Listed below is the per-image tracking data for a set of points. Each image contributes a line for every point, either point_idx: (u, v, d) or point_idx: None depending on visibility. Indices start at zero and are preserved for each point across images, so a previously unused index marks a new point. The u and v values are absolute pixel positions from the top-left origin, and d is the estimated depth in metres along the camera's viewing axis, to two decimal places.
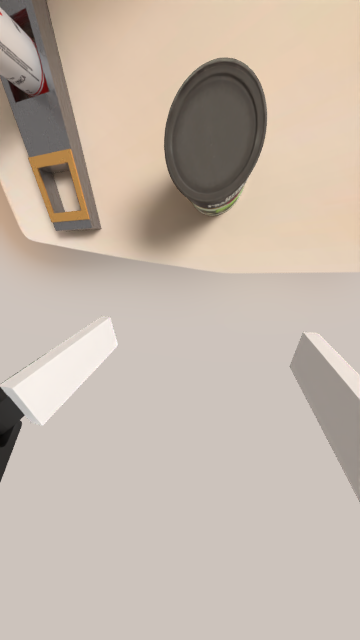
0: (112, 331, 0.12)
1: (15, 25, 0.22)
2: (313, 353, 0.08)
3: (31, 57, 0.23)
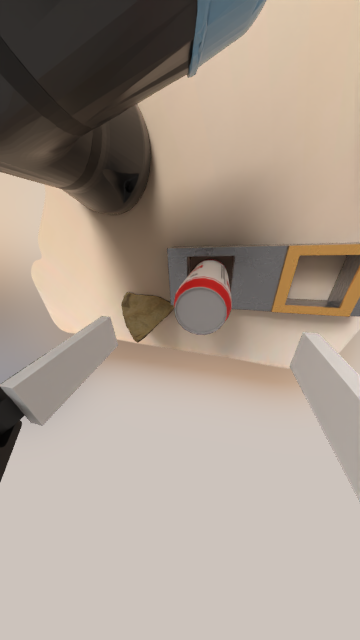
0: (112, 331, 0.12)
1: (200, 264, 0.24)
2: (313, 353, 0.08)
3: (215, 262, 0.24)
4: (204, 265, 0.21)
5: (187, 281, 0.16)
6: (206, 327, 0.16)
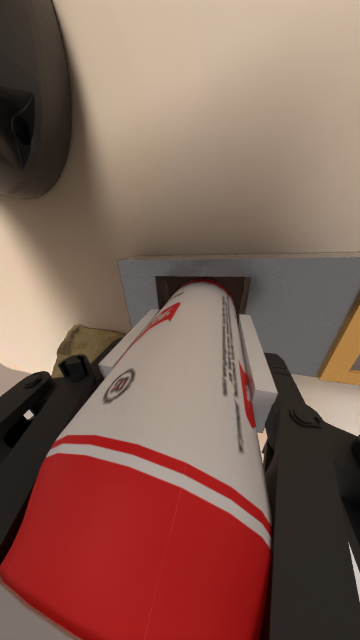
0: None
1: (178, 295, 0.11)
2: (240, 329, 0.10)
3: (209, 289, 0.12)
4: (182, 306, 0.09)
5: (64, 451, 0.03)
6: None
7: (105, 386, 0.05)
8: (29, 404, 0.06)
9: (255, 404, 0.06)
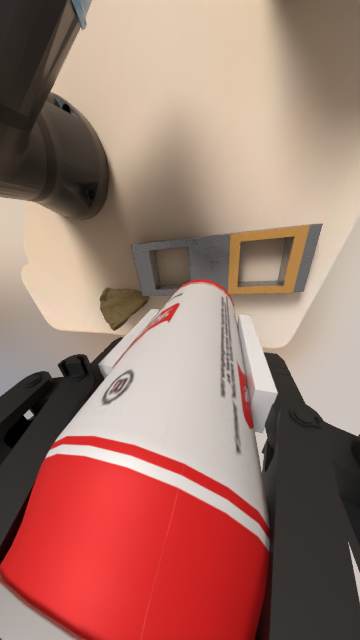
0: None
1: (177, 295, 0.11)
2: (240, 329, 0.10)
3: (209, 290, 0.12)
4: (181, 307, 0.09)
5: (63, 452, 0.03)
6: None
7: (104, 387, 0.05)
8: (29, 405, 0.06)
9: (255, 404, 0.06)
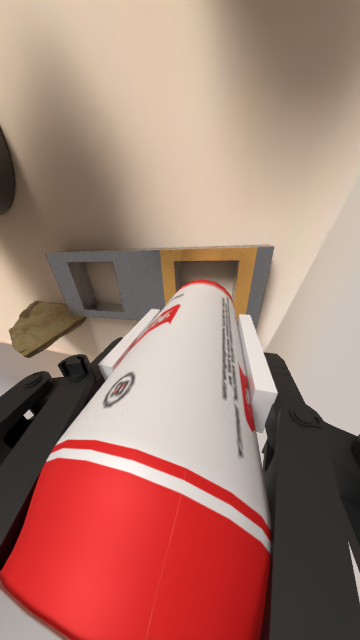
0: None
1: (178, 296, 0.11)
2: (240, 329, 0.10)
3: (209, 291, 0.12)
4: (181, 308, 0.09)
5: (64, 456, 0.03)
6: None
7: (105, 390, 0.05)
8: (29, 404, 0.06)
9: (255, 404, 0.06)
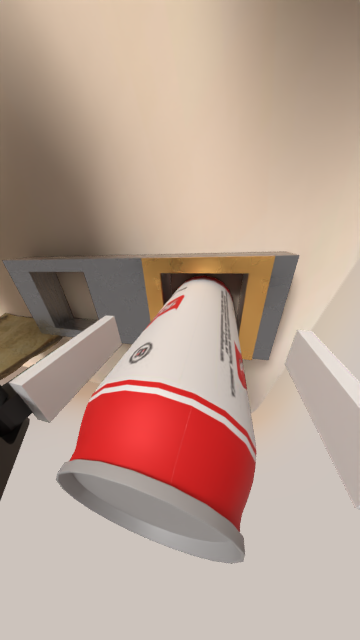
0: (116, 330, 0.12)
1: (182, 289, 0.13)
2: (306, 350, 0.08)
3: (210, 285, 0.13)
4: (186, 298, 0.10)
5: (106, 392, 0.05)
6: (174, 529, 0.05)
7: (128, 355, 0.06)
8: None
9: None
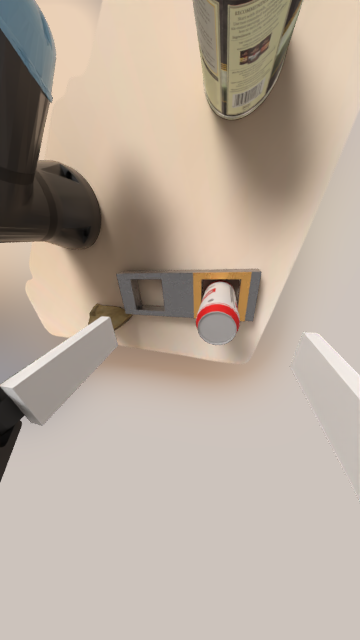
0: (112, 331, 0.12)
1: (212, 286, 0.29)
2: (313, 353, 0.08)
3: (224, 284, 0.30)
4: (216, 289, 0.27)
5: (206, 306, 0.21)
6: (221, 339, 0.22)
7: (206, 301, 0.23)
8: None
9: None
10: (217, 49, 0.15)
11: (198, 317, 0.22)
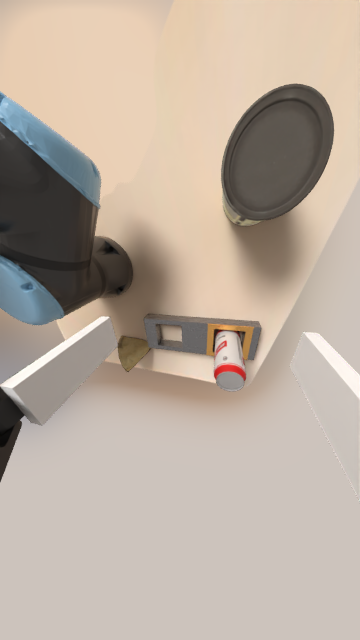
0: (112, 331, 0.12)
1: (223, 336, 0.38)
2: (313, 353, 0.08)
3: (232, 334, 0.38)
4: (227, 342, 0.35)
5: (222, 364, 0.30)
6: (232, 387, 0.30)
7: (222, 358, 0.31)
8: None
9: None
10: (237, 217, 0.23)
11: (216, 371, 0.30)
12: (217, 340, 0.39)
